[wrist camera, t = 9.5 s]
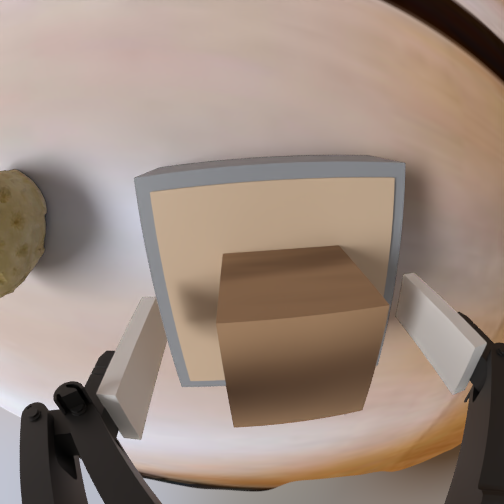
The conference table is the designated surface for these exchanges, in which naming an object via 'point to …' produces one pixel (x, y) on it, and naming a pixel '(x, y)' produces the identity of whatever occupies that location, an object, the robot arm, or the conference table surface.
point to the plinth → (259, 233)
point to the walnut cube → (297, 334)
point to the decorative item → (19, 228)
